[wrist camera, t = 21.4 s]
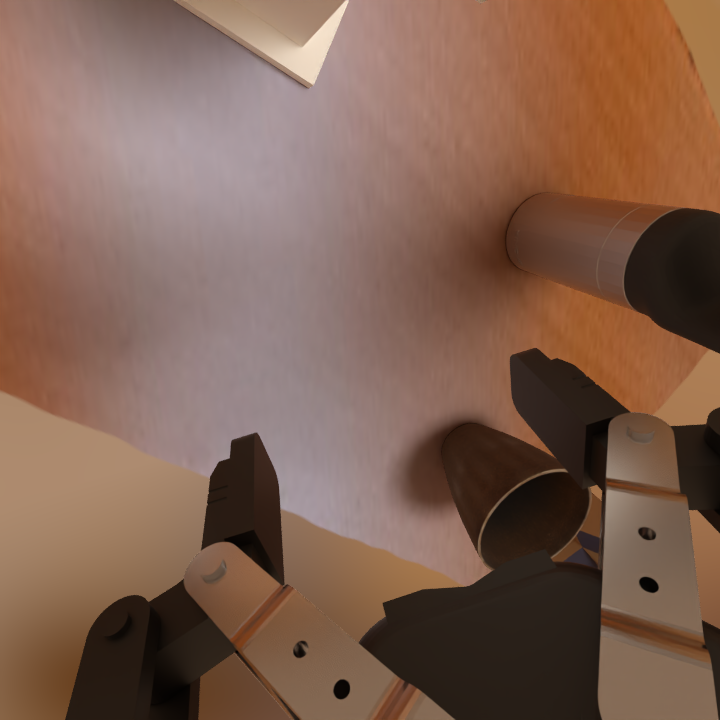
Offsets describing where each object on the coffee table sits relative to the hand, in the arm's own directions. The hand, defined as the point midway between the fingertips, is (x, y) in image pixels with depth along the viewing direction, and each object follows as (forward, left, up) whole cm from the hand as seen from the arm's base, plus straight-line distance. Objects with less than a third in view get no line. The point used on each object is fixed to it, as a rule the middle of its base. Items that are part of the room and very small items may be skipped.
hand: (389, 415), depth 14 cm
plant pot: (-16, +37, -36) cm, 54 cm away
